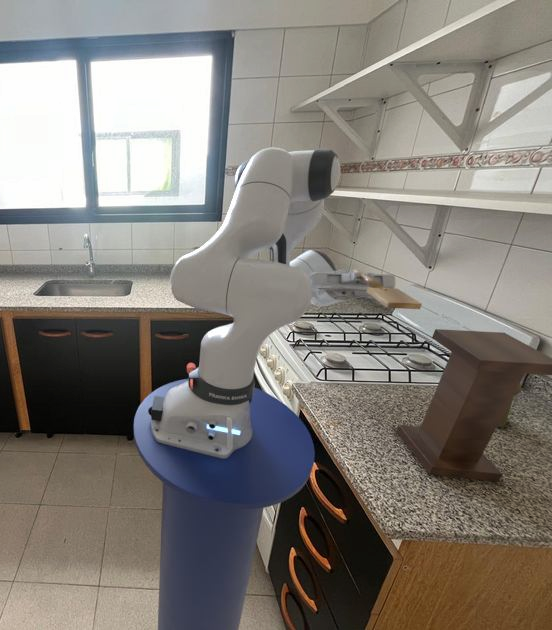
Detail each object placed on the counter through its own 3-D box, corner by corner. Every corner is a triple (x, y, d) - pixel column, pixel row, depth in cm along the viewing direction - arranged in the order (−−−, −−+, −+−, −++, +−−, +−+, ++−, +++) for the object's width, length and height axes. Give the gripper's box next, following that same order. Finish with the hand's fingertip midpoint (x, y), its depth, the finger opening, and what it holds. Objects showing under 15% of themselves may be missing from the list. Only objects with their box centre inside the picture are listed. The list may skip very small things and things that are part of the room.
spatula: (387, 308, 69) (389, 300, 69) (341, 274, 90) (343, 268, 89) (420, 309, 68) (422, 301, 68) (366, 274, 89) (368, 268, 88)
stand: (429, 474, 68) (481, 360, 57) (396, 431, 78) (435, 328, 68) (498, 481, 66) (566, 365, 55) (455, 436, 77) (504, 332, 66)
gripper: (300, 274, 100) (319, 261, 86) (376, 276, 97) (409, 264, 83) (299, 295, 99) (319, 286, 85) (376, 298, 96) (409, 290, 83)
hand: (364, 275), depth 84 cm, fingers closed on spatula, 1 cm apart
